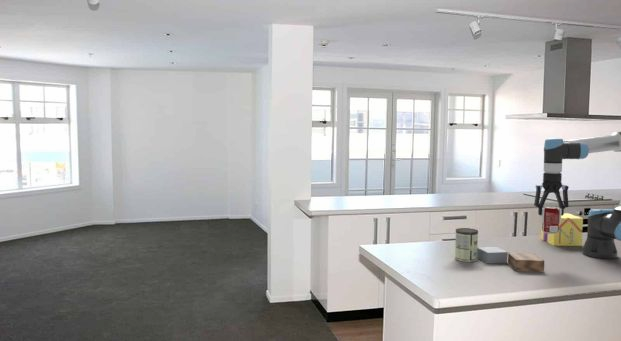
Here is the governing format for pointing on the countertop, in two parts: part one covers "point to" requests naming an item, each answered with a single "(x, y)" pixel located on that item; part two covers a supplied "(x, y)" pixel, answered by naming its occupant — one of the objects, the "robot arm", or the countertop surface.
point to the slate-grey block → (492, 254)
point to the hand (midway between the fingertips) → (550, 222)
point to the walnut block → (526, 262)
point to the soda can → (551, 220)
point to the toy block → (566, 232)
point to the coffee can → (466, 244)
